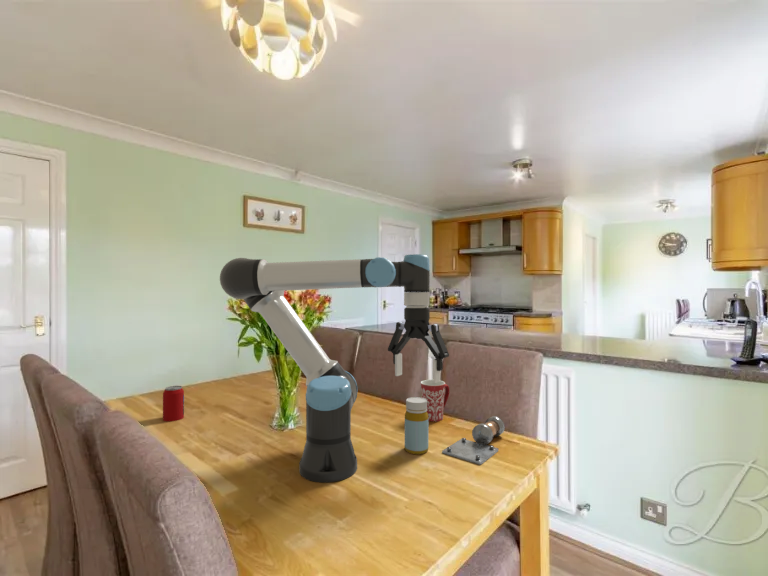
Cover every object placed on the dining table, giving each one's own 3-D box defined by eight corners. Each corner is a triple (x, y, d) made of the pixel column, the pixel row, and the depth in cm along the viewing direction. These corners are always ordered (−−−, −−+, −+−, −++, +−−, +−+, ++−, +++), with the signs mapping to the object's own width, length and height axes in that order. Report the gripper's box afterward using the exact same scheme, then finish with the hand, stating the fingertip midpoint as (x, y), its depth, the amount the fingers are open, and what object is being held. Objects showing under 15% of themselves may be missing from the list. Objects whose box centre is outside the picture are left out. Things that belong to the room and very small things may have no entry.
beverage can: (187, 417, 146) (187, 385, 146) (176, 424, 140) (176, 390, 140) (170, 417, 147) (170, 385, 147) (158, 423, 140) (158, 389, 140)
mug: (432, 424, 139) (432, 386, 139) (415, 417, 147) (415, 381, 147) (457, 418, 147) (457, 381, 147) (440, 411, 154) (440, 377, 154)
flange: (480, 465, 108) (480, 443, 108) (442, 453, 115) (442, 432, 115) (513, 439, 126) (513, 420, 126) (478, 430, 134) (478, 412, 134)
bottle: (429, 455, 114) (429, 403, 114) (405, 455, 114) (405, 403, 114) (427, 445, 121) (427, 396, 121) (404, 445, 121) (404, 396, 121)
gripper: (460, 307, 112) (460, 382, 112) (391, 305, 128) (391, 370, 128) (447, 308, 106) (447, 387, 106) (376, 306, 122) (376, 374, 122)
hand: (417, 378), depth 117 cm, fingers open, 13 cm apart
